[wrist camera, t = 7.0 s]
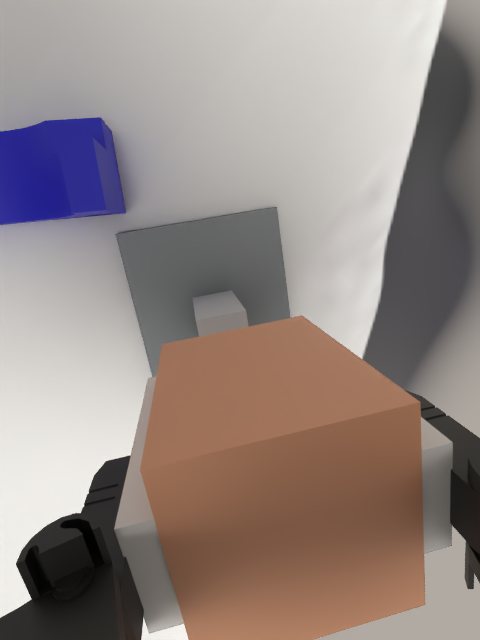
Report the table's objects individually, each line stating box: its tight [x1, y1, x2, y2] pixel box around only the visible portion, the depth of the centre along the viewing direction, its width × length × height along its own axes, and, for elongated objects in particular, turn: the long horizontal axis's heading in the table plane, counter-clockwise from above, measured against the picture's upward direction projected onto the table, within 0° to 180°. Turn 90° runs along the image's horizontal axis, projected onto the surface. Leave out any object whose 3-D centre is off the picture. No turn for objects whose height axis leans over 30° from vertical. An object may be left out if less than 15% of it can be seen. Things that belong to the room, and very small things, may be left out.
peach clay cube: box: [140, 316, 425, 640], centre depth 10 cm, size 5×5×7 cm
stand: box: [116, 207, 290, 377], centre depth 21 cm, size 12×10×6 cm
